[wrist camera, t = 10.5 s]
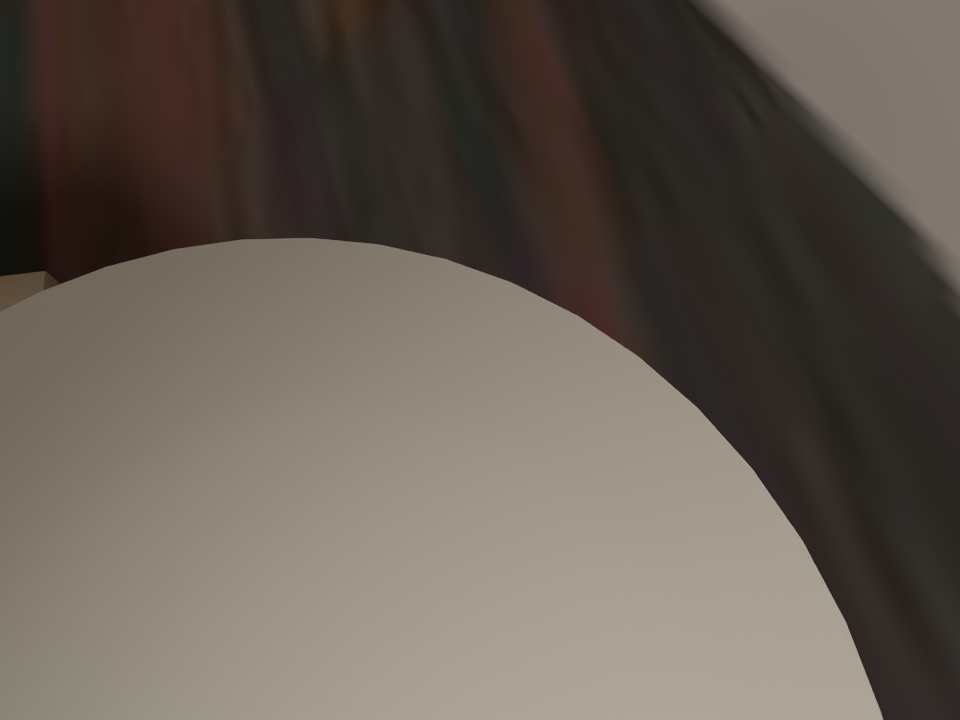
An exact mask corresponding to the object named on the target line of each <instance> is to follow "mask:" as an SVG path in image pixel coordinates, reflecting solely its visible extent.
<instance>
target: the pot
mask: <svg viewBox="0 0 960 720" xmlns="http://www.w3.org/2000/svg"><path fill="white" fill-rule="evenodd" d="M0 720H883V718H882V714H881V712H880V709H879V707H878V704H877V701H876V699H875V696H874V694H873V691H872V689H871V686H870V683H869V681H868V678H867V676H866V673H865V670H864V668H863V665H862V663H861V660H860V658H859V655H858V652H857V650H856V647H855V645H854V642H853V640H852V637H851V634H850V632H849V629H848V627H847V624H846V622H845V620H844V618H843V616H842V614H841V612H840V611H839V609H838V607H837V605H836V603H835V601H834V599H833V597H832V595H831V594H830V592H829V590H828V588H827V586H826V584H825V582H824V580H823V579H822V577H821V575H820V573H819V571H818V569H817V567H816V565H815V563H814V562H813V560H812V558H811V556H810V554H809V552H808V550H807V548H806V547H805V545H804V543H803V541H802V539H801V538H800V537H799V535H798V534H797V532H796V531H795V529H794V528H793V527H792V525H791V524H790V522H789V521H788V519H787V518H786V517H785V515H784V514H783V512H782V511H781V509H780V508H779V507H778V505H777V504H776V502H775V501H774V499H773V498H772V496H771V495H770V494H769V492H768V491H767V489H766V488H765V486H764V485H763V484H762V482H761V481H760V479H759V478H758V476H757V475H756V474H755V472H754V471H753V469H752V468H751V467H750V466H749V465H748V464H747V463H746V461H745V460H744V459H743V458H742V457H741V456H740V455H739V454H738V453H737V451H736V450H735V449H734V448H733V447H732V446H731V445H730V444H729V443H728V441H727V440H726V439H725V438H724V437H723V436H722V435H721V434H720V433H719V431H718V430H717V429H716V428H715V427H714V426H713V425H712V424H711V422H710V421H709V420H708V419H707V418H706V417H705V416H704V415H703V414H702V412H701V411H700V410H699V409H698V408H697V407H696V406H695V405H693V404H692V403H691V402H690V401H689V400H688V399H687V398H685V397H684V396H683V395H682V394H681V393H680V392H678V391H677V390H676V389H675V388H674V387H673V386H672V385H670V384H669V383H668V382H667V381H666V380H665V379H664V378H662V377H661V376H660V375H659V374H658V373H657V372H655V371H654V370H653V369H652V368H651V367H650V366H649V365H647V364H646V363H645V362H644V361H643V360H642V359H641V358H639V357H638V356H637V355H635V354H634V353H632V352H631V351H629V350H628V349H626V348H625V347H623V346H622V345H620V344H619V343H617V342H616V341H614V340H613V339H611V338H610V337H608V336H607V335H605V334H604V333H602V332H601V331H599V330H598V329H596V328H595V327H593V326H592V325H590V324H589V323H587V322H586V321H584V320H583V319H581V318H580V317H578V316H577V315H575V314H573V313H571V312H569V311H567V310H565V309H563V308H561V307H559V306H557V305H555V304H553V303H551V302H549V301H547V300H545V299H543V298H541V297H539V296H537V295H535V294H533V293H531V292H529V291H527V290H525V289H523V288H521V287H519V286H517V285H515V284H513V283H511V282H508V281H506V280H503V279H500V278H497V277H494V276H491V275H489V274H486V273H483V272H480V271H477V270H474V269H472V268H469V267H466V266H463V265H460V264H458V263H455V262H452V261H449V260H446V259H442V258H438V257H433V256H428V255H424V254H419V253H415V252H410V251H406V250H401V249H397V248H392V247H387V246H383V245H378V244H368V243H357V242H347V241H336V240H326V239H315V238H291V239H250V240H237V241H229V242H222V243H215V244H208V245H201V246H194V247H187V248H180V249H173V250H170V251H166V252H162V253H158V254H154V255H150V256H146V257H142V258H138V259H135V260H131V261H127V262H123V263H119V264H115V265H111V266H107V267H105V268H102V269H99V270H97V271H94V272H91V273H89V274H86V275H83V276H81V277H78V278H75V279H73V280H70V281H67V282H65V283H62V284H59V285H57V286H54V287H51V288H49V289H46V290H44V291H41V292H39V293H37V294H35V295H33V296H31V297H29V298H27V299H25V300H23V301H21V302H19V303H17V304H15V305H13V306H11V307H9V308H7V309H5V310H3V311H1V312H0Z"/></svg>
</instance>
